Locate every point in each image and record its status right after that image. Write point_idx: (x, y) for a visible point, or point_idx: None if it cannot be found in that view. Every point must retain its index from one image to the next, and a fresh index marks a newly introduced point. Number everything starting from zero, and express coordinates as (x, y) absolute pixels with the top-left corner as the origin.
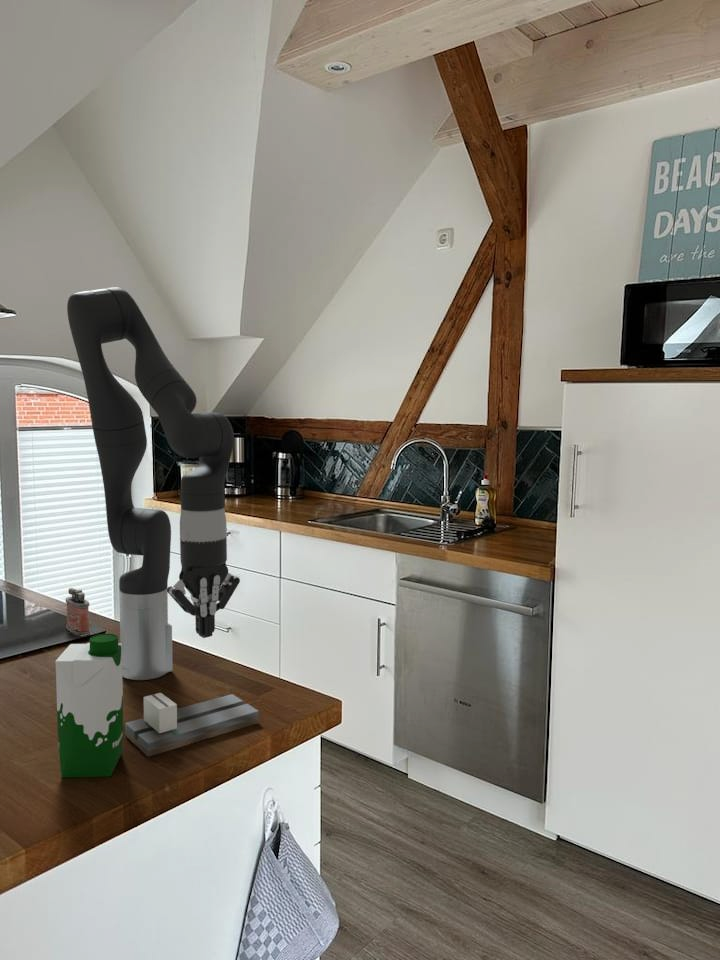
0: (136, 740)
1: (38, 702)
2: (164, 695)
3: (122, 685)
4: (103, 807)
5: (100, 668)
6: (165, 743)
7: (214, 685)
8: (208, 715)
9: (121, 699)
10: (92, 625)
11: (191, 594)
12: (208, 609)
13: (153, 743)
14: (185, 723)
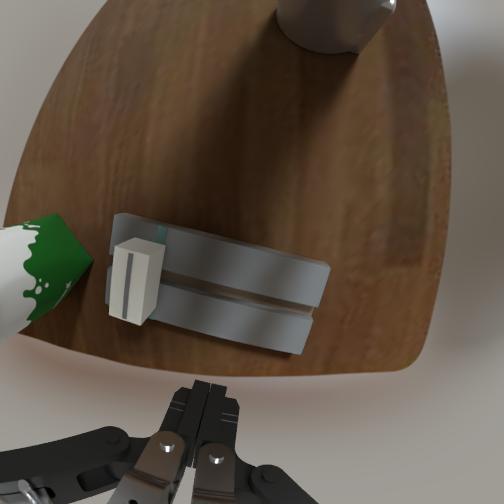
0: None
1: (125, 16)
2: (146, 273)
3: (17, 321)
4: (46, 337)
5: None
6: None
7: (371, 163)
8: (230, 305)
9: (26, 322)
10: None
11: (116, 495)
12: (193, 485)
13: None
14: (181, 298)
